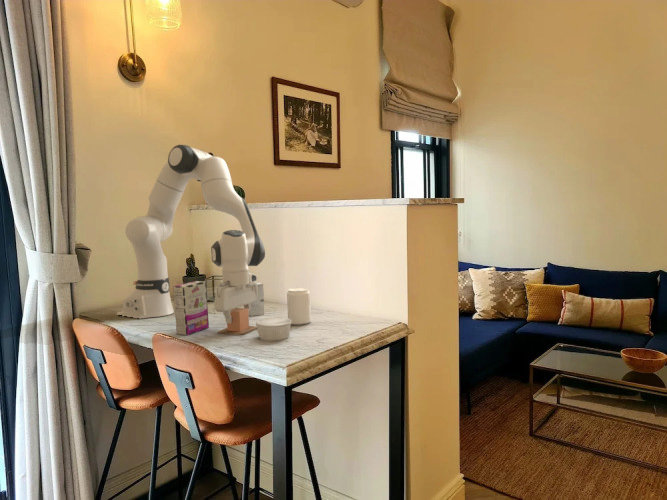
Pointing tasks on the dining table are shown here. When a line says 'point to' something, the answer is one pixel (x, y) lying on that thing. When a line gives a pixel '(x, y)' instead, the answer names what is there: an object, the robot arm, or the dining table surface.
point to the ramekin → (273, 328)
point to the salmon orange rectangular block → (239, 320)
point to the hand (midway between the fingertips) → (237, 319)
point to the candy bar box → (191, 307)
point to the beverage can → (299, 306)
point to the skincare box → (258, 302)
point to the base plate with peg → (250, 329)
